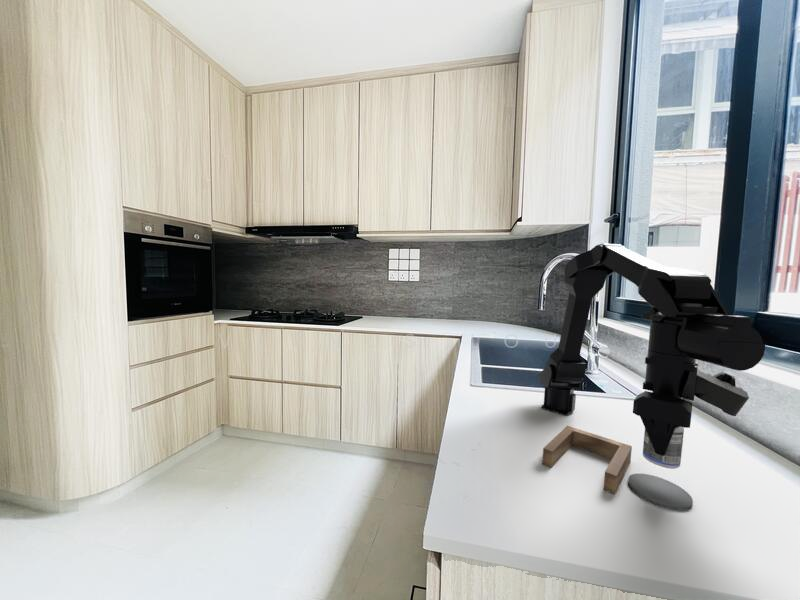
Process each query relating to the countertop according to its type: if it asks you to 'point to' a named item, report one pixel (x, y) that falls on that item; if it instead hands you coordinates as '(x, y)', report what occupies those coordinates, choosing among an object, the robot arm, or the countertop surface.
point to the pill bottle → (672, 454)
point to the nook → (592, 443)
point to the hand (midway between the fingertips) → (661, 448)
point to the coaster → (660, 491)
